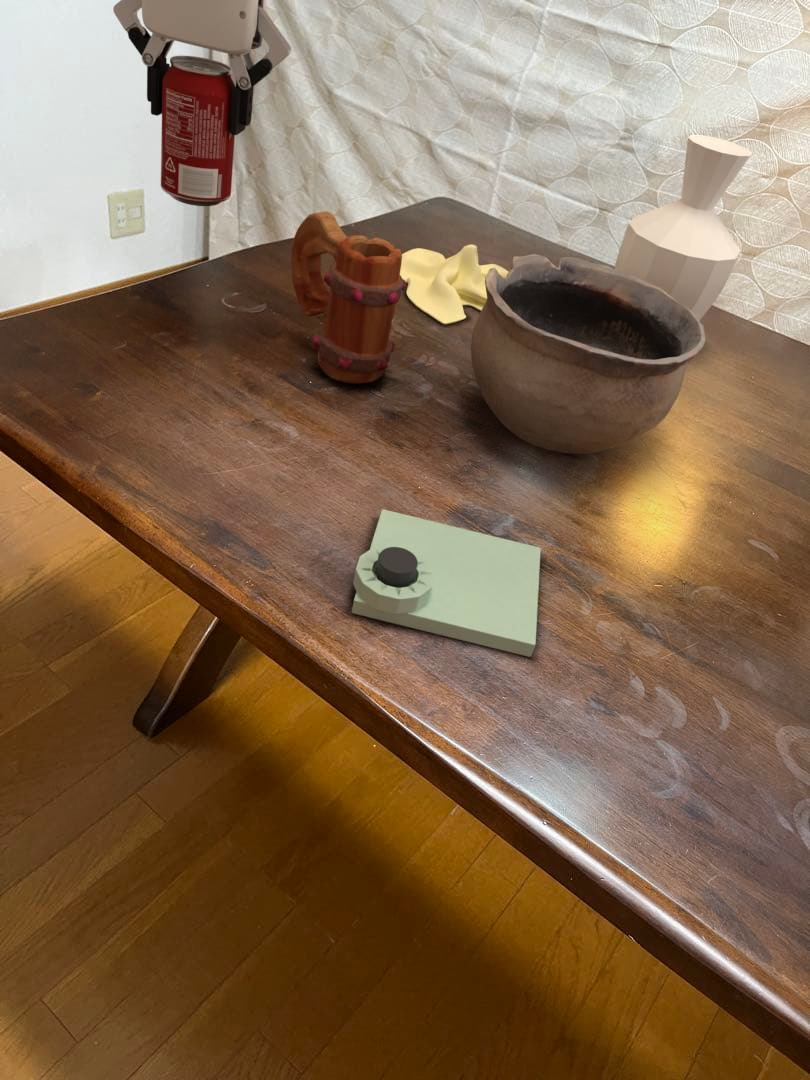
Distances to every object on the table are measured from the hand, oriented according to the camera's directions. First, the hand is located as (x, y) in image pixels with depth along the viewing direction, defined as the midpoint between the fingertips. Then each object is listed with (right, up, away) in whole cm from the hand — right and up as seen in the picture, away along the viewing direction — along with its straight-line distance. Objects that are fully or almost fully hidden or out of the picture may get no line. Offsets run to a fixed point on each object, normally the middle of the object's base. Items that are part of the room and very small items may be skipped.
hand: (198, 120), depth 81 cm
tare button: (+19, -42, -16) cm, 49 cm away
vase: (+52, -13, +35) cm, 64 cm away
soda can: (-1, -6, +4) cm, 7 cm away
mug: (+12, -20, +14) cm, 27 cm away
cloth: (+27, -6, +36) cm, 45 cm away
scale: (+23, -43, -11) cm, 50 cm away
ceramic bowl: (+35, -28, +11) cm, 46 cm away
